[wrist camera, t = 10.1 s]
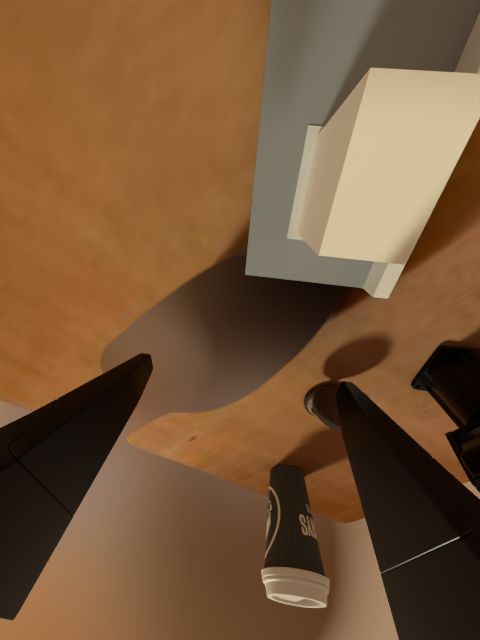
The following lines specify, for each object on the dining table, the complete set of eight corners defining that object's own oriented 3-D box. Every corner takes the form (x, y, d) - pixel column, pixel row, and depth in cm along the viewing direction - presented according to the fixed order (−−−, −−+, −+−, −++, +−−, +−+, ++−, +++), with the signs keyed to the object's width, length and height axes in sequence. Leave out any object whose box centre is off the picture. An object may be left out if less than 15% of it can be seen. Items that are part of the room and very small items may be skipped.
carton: (382, 141, 13) (509, 75, 6) (349, 238, 16) (410, 265, 9) (317, 136, 13) (370, 67, 7) (296, 233, 16) (318, 255, 10)
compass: (301, 412, 30) (311, 466, 24) (307, 374, 26) (320, 427, 20) (358, 415, 29) (382, 473, 23) (372, 376, 25) (407, 433, 19)
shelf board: (370, 284, 19) (389, 299, 16) (246, 269, 20) (242, 281, 17) (729, -531, 6) (1181, -1246, 3) (321, -494, 7) (366, -1054, 4)
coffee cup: (289, 488, 43) (299, 609, 30) (253, 472, 41) (247, 594, 29) (322, 474, 39) (350, 609, 26) (282, 455, 37) (291, 591, 24)
